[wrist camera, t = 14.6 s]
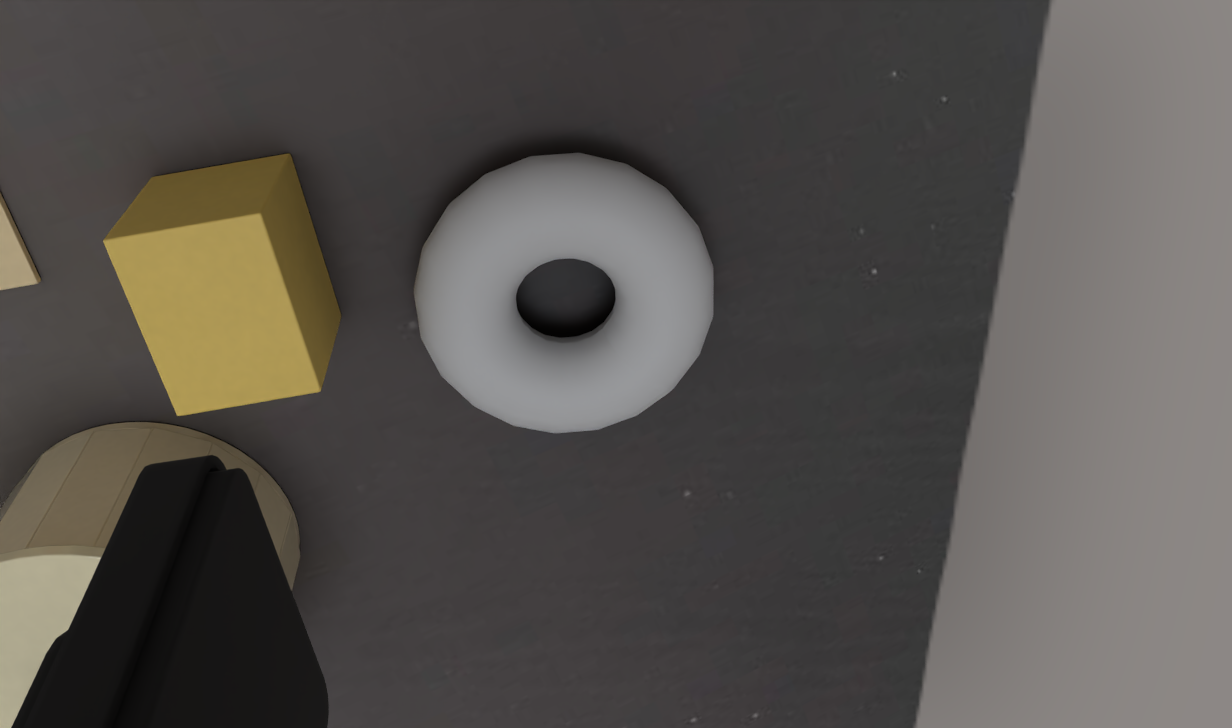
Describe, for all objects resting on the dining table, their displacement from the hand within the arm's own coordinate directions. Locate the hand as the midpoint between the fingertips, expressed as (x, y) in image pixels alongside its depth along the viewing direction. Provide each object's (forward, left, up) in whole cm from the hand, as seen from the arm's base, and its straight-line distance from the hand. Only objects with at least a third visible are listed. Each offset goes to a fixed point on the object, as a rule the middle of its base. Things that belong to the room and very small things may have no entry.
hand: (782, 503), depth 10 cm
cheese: (+7, -13, -27) cm, 30 cm away
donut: (+10, -3, -27) cm, 29 cm away
